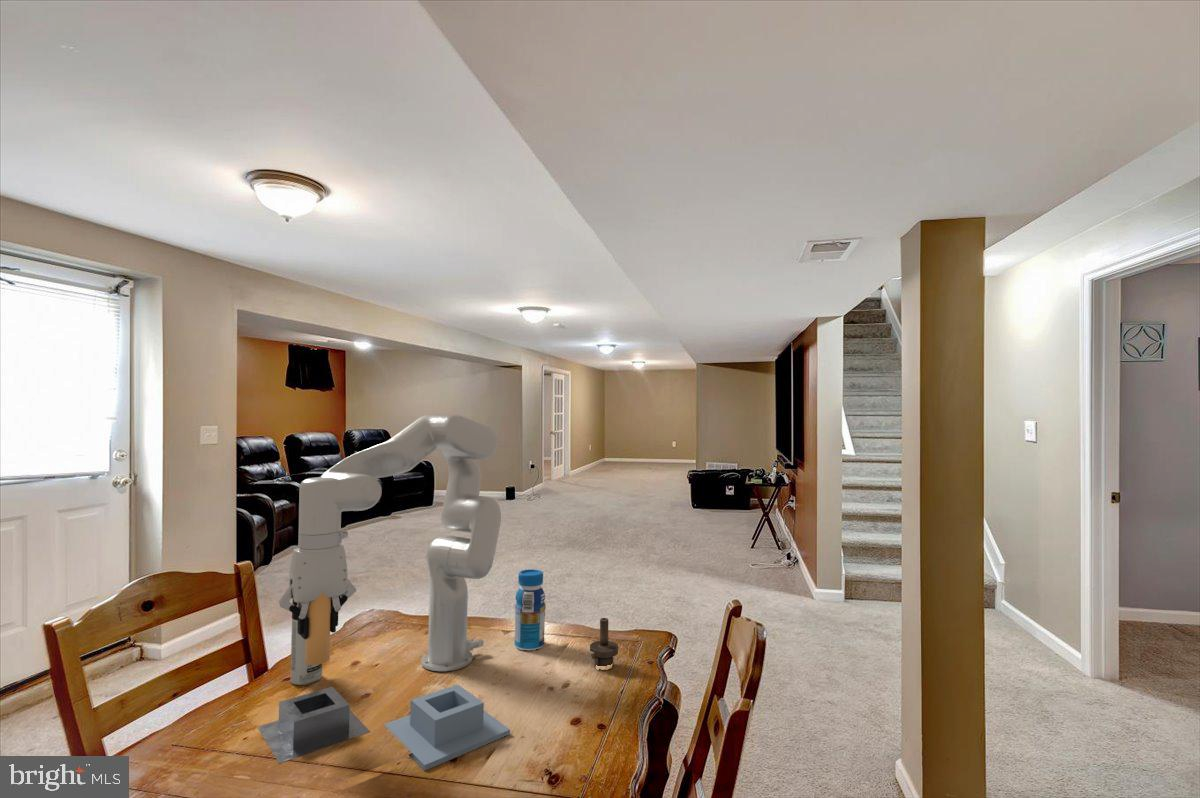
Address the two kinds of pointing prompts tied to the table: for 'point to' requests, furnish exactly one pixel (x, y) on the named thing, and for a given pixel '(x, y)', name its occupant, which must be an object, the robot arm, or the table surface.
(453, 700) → the socket block
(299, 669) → the spray can
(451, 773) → the table surface
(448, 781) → the table surface
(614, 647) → the industrial component
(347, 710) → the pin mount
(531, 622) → the beverage bottle
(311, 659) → the lock pin
